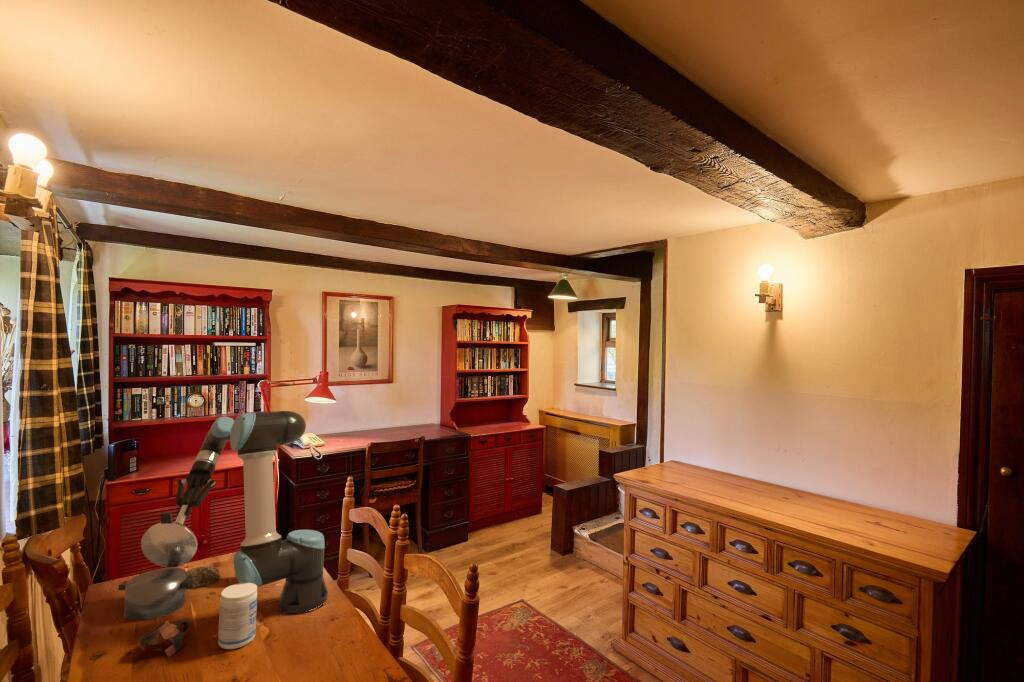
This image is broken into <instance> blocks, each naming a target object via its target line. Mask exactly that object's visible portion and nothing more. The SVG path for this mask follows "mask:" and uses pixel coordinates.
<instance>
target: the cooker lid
mask: <svg viewBox="0 0 1024 682" xmlns="http://www.w3.org/2000/svg"><path fill="white" fill-rule="evenodd" d="M159 515H160V516H159V517H160V522H158V523H156V524H153V525H152V526H151V527H149V528H148V529H146V531H145V532H144V534H143V535H142V537H141V540H140V548H141V551H142V553H143V555H144V556H145V558H146V559H147V560H149V561H150V562H151V563H153V564H155V565H156V566H160V567H162V568H163V567H164V568H179V567H182V566H184V565H185V564H187V563H188V562H190V561H191V560H192V559H193V557H195V555H196V553H197V550H198V539H197V537H196V535H195V533H194V532H193V531H192V530H191V529H190V528H189V527H187V526H186V525H184V524H183V525H182V524H180V523H176V522H175V521H173V513H172V512H161V513H160V514H159Z"/></svg>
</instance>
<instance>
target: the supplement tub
mask: <svg viewBox="0 0 1024 682" xmlns="http://www.w3.org/2000/svg"><path fill="white" fill-rule="evenodd" d="M257 608H258V587H257V586H256V585H255V584H254V583H239V582H238V583H234V584H232V585H229V586H226V587H225V588H224V589H223V590H222V591H221V593H220V598H219V612H218V613H219V614H218V615H219V617H218V635H217V636H218V639H217V643H218V646H219V647H220V648H222V649H224V650H235V649H238V648H241V647H244V646H247V645H248V644H250V643H251V642H252V641H253V640H254V639H255V636H256V631H257V628H256V627H257Z"/></svg>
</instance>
